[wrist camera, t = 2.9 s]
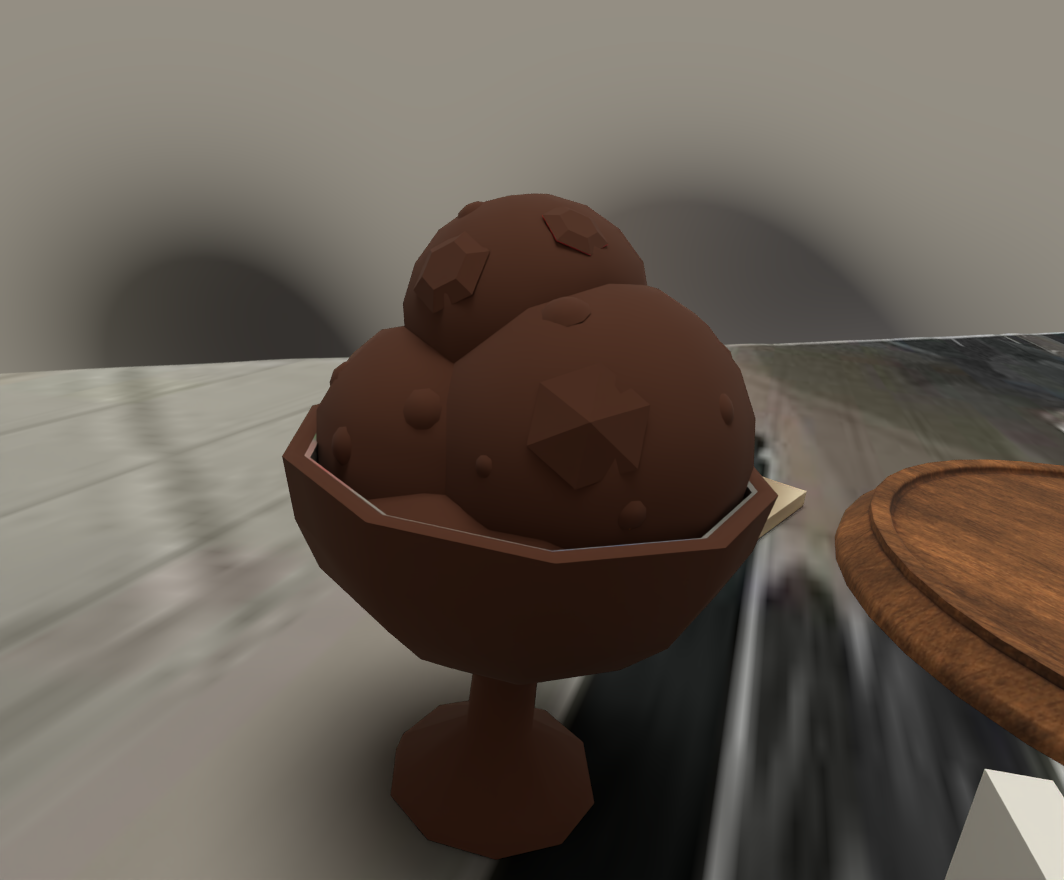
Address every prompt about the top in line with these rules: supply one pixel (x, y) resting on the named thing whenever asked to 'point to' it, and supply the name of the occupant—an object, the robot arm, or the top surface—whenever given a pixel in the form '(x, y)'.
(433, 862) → the top surface
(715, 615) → the top surface
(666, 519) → the chocolate ice cream sundae
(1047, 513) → the cutting board
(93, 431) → the top surface
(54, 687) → the top surface
